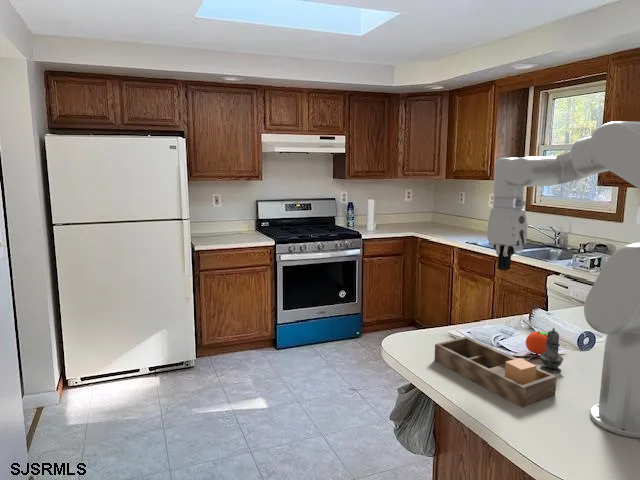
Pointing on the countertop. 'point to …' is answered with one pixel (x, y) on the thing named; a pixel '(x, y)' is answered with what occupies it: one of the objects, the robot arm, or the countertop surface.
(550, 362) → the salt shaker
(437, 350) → the wooden divided tray
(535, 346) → the clementine
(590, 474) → the countertop surface
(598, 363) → the countertop surface
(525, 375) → the block
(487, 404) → the countertop surface
